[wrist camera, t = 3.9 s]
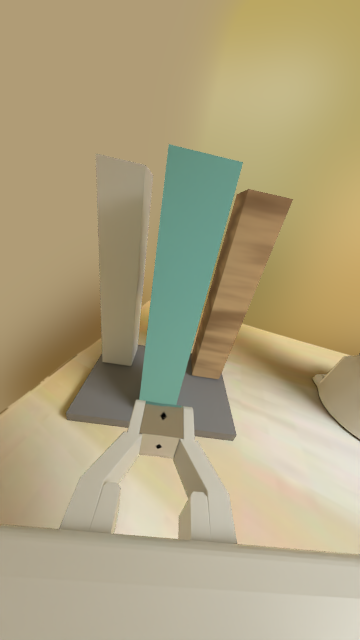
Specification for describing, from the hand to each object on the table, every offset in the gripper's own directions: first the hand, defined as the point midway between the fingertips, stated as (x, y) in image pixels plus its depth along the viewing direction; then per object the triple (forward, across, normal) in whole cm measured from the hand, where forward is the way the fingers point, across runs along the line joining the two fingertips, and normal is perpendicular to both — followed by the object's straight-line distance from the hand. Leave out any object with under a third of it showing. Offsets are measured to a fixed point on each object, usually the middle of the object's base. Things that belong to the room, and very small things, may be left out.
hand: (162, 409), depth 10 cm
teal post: (+12, 0, +15) cm, 19 cm away
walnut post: (+20, -8, +15) cm, 27 cm away
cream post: (+20, +8, +15) cm, 26 cm away
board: (+16, 0, +17) cm, 23 cm away
